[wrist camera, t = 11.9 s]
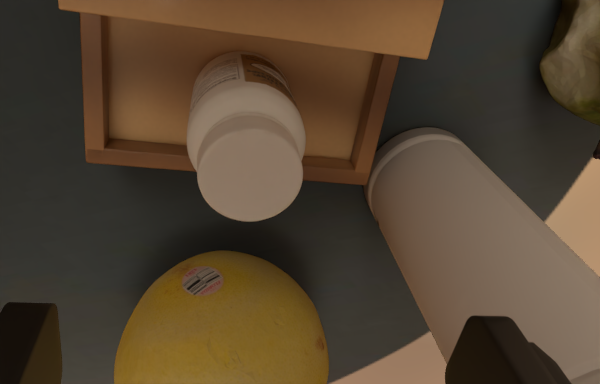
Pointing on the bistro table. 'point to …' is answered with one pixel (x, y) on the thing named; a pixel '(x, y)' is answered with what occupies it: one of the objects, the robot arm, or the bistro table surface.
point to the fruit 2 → (575, 61)
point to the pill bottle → (245, 137)
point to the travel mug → (481, 251)
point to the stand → (251, 38)
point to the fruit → (223, 327)
